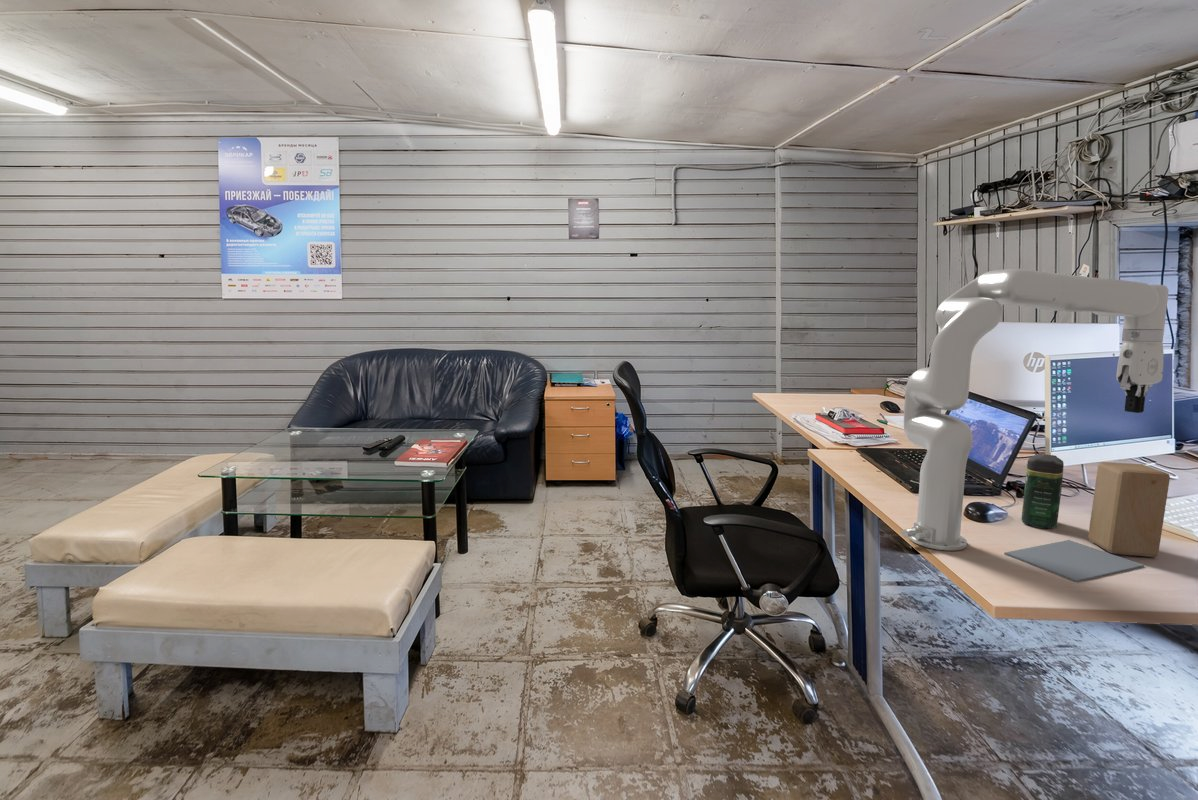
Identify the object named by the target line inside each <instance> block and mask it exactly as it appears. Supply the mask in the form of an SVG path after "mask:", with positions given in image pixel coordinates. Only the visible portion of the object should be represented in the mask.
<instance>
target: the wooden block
mask: <svg viewBox="0 0 1198 800" xmlns="http://www.w3.org/2000/svg"><path fill="white" fill-rule="evenodd" d="M1170 479H1171V477H1170V474H1169V473H1167V472H1165V471H1162V470H1160V469H1156V468H1154V467H1151V466H1148V465H1145V464H1142V463H1127V462H1112V461H1103V462H1099V463H1098V464H1097V470H1096V477H1095V482H1094V483H1095V484H1094V485H1095V486H1094V493H1093V497H1092V498H1093V500H1092V506H1091V513H1090V514H1091V515H1090V520H1089V529H1088V536H1087V537H1088V540H1089V541H1090V542H1092V543H1093V544H1096V545H1097V546H1098V547H1100V548H1102V549H1104V550H1105V551H1106V552H1107V553H1110V554H1113V555H1124V556H1136V557H1137V556H1138V557H1147V558H1148V557H1149V558H1155V557H1158V555H1159V552H1160V545H1161V538H1162V531H1163V526H1164V519H1165V512H1166V506H1167V499H1168V494H1169V492H1168V491H1169V485H1170Z"/></svg>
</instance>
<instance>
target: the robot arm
mask: <svg viewBox="0 0 1198 800" xmlns="http://www.w3.org/2000/svg"><path fill="white" fill-rule="evenodd" d="M1168 299H1169V288H1168V286H1166V285H1164V284H1149V283H1145V282H1138V281H1131V280H1124V279H1113V278H1100V277H1092V276H1091V277H1090V276H1082V275H1073V274H1072V275H1071V274H1069V275H1068V274H1063V273H1056V272H1054V273H1052V272H1048V271H1041V270H1040V271H1039V270H1034V269H1026V268H1025V269H1024V268H1005V269H994V270H989V271H986V272H984V273H982V274H980V275H979V276H977V277H975V278H974V279H973V280H971V281H969V282H968V283H966V285H964V286H962V287H961V288H959V289H958V290H957V291H955V292H954V293H952V294H951V295H950V296H948V297H946V298H945V299H944V300H943V301H942V302H941V303H940V304H939V305H938V307H937V309H936V311H935V322H936V324H937V326H938V328H940V329H941V330H939V332H938V333H937V335H935V338H934V340H933V342H932V345H931V350H930V355H929V357H930V358H929V363H928V364H929V366H928V367H923V368H918V369H917V370H916V371H914V372H913V373H912V374H911V375H910V377H909V379H908V380H907V383H906V385H905V389H904V390H905V391H904V392H905V393H904V408H903V410H904V411H903V430H904V435H905V437H906V438H907V440H908V441H909V442H910V443H912V444H913V445H915V446H917V447H920V448H923V449H925V450H926V454H925V456H924V457H923V460H922V463H921V466H920V470H919V471H920V472H919V486H918V487H919V489H918V499H917V500H918V501H917V502H918V503H917V516H916V522H913V526H912V527H911V528H906V529H903V530H902V531H901V535H902V537H903V538H909V540H910V541H911V542H913V543H914V544H916V545H919V546H921V547H925V548H928V549H932V550H939V551H949V552H950V551H951V552H952V551H953V552H954V551H960V550H963V549H965V548H967V545H968V540H967V539H966V538H965V537H963V536H962V535H961V531H962V530H961V527H962V526H961V525H962V519H963V517H962V515H963V502H964V489H965V480H966V479H965V478H966V468H967V463H968V462H967V461H968V458H969V454H970V452H971V449H972V446H973V433H972V430H971V428H970V427H969V426H970V425H968V424H967V423H966V422H965V421H963V420H962V419H960V418H959V417H958V418H957V417H956V416H953V415H948V414H944V413H942V410H944V411H956V410H960V409H961V408H963V407H964V406H965V405H966V404H967V402H968V398H969V394H970V379H971V364H972V356H973V352H974V349H975V347H976V345H977V344H978V343H979V341H980V340H981V339H982V338H983V337H984V336H986V334H988V333H989V332H991V331H992V330H994V329H995V328H996V327H997V326H998V325H999V324H1000V322H1001V320H1002V317H1003V307H1002V305H1003V306H1016V307H1023V308H1031V309H1039V310H1044V311H1045V310H1046V311H1054V312H1066V313H1068V312H1070V313H1071V312H1072V313H1076V312H1077V313H1078V312H1081V313H1082V312H1091V313H1092V314H1094V315H1097V316H1100V317H1101V316H1102V317H1123V326H1122V333H1121V334H1122V335H1121V343H1122V344H1121V347H1120V352H1119V355H1118V361H1117V368H1116V381H1117V383H1120V384H1119V388H1120V390H1124V395H1125V402H1124V412H1126V413H1127V412H1128V413H1135V414H1139V413H1140V414H1141V413H1144V411H1145V402H1146V396H1147V394H1148V390H1149V388H1152V387H1153V386H1154V384H1159V383H1161V382H1162V381H1163V377H1164V376H1163V375H1164V374H1163V373H1164V359H1165V358H1164V357H1165V356H1164V344H1163V343H1164V335H1165V334H1164V333H1165V326H1166V325H1165V324H1166V316H1167V308H1168V301H1169V300H1168Z"/></svg>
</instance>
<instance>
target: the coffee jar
mask: <svg viewBox="0 0 1198 800" xmlns="http://www.w3.org/2000/svg"><path fill="white" fill-rule="evenodd" d="M1026 462H1027V464H1026V472H1025V473H1026V474H1025V480H1024V481H1025V483H1024V492H1023V501H1022V512H1021V521H1022V522H1023V524H1025V525H1029V526H1032V527H1035V528H1038V529H1043V528H1044V529H1045V528H1047V529H1054V528H1055V527H1056V526H1057V524H1058V521H1059V513H1060V504H1061V498H1062V489H1063V478H1064V461H1063V460H1062V459H1061V458H1059V457H1057V455H1053V454H1047V453H1046V454H1045V453H1037V454H1035V455H1032V456H1030V457H1029V458H1028V459H1027V461H1026Z"/></svg>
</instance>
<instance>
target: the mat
mask: <svg viewBox="0 0 1198 800" xmlns="http://www.w3.org/2000/svg"><path fill="white" fill-rule="evenodd" d="M1004 555H1005V556H1008V557H1011V558H1014V559H1016V560H1018V559H1019V561H1021V562H1024V563H1026V564H1029V565H1032V566H1034V567H1037V568H1039V569H1042V570H1045V571H1047V572H1050V573H1052V574H1055V575H1057V576H1059V577H1062V578H1065V579H1067V580H1070V581H1073V582H1075V583H1079V582H1083V581H1086V580H1090V579H1091V580H1093V579H1097V578H1100V577H1104V576H1105V577H1106V576H1109V575H1113V574H1116V573H1117V574H1118V573H1123V572H1127V571H1130V570H1135V569H1140V568H1143V567H1145V565H1144V564H1143V563H1139V562H1137V561H1133V560H1132V559H1128V558H1124V557H1122V556H1118V555H1117V554H1112V553H1110V552H1108V551H1104V550H1100V549H1098V548H1095V547H1092V546H1089V545H1086V544H1082V543H1079V542H1077V541H1074V540H1071V539H1067V540H1062V541H1061V540H1060V541H1055V542H1051V543H1047V544H1046V543H1045V544H1040V545H1035V546H1031V547H1026V548H1025V547H1024V548H1021V549H1016V550H1010V551H1006V552H1004ZM1139 567H1140V568H1139ZM1126 570H1127V571H1126Z"/></svg>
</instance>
